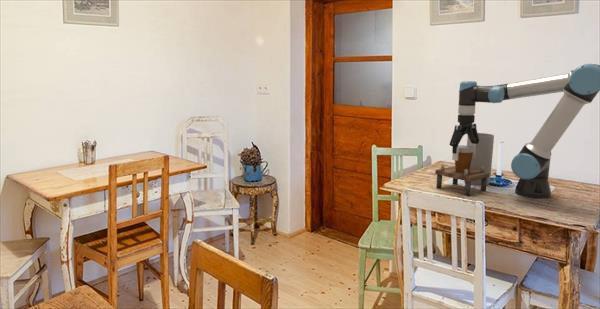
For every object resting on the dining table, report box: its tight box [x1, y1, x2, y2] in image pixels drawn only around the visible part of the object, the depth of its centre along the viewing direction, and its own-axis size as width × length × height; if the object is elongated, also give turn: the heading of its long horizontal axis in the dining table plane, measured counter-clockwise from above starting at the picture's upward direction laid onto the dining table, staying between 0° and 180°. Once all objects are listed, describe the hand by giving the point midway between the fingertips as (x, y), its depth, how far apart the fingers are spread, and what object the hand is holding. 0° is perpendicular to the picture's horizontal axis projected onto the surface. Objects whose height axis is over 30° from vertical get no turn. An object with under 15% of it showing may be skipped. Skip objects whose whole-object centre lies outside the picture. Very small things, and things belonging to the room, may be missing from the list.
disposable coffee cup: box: [454, 144, 474, 173], centre depth 227 cm, size 10×10×12 cm
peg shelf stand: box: [434, 163, 489, 197], centre depth 229 cm, size 19×16×12 cm
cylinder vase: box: [464, 132, 495, 187], centre depth 241 cm, size 12×12×25 cm
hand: (463, 158), depth 227 cm, fingers open, 13 cm apart
